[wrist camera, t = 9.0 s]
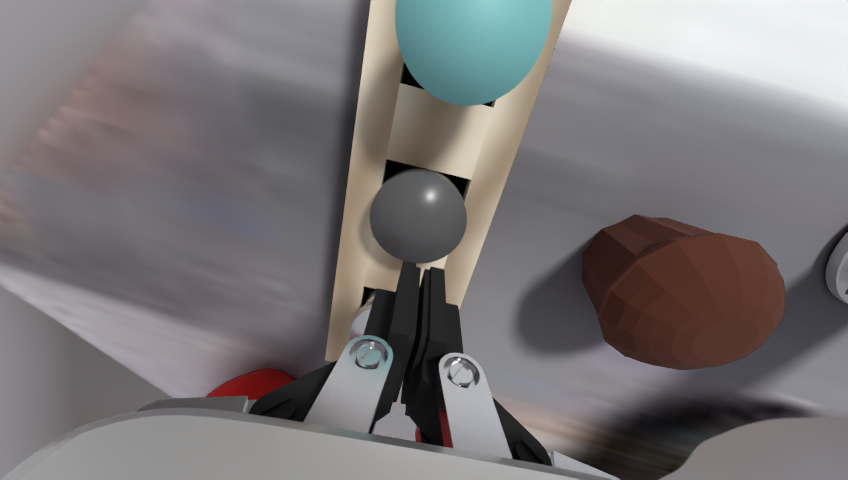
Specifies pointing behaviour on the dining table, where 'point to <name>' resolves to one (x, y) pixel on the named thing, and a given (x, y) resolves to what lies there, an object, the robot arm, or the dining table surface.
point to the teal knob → (471, 45)
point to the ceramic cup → (253, 384)
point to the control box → (423, 163)
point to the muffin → (681, 293)
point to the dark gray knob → (418, 215)
